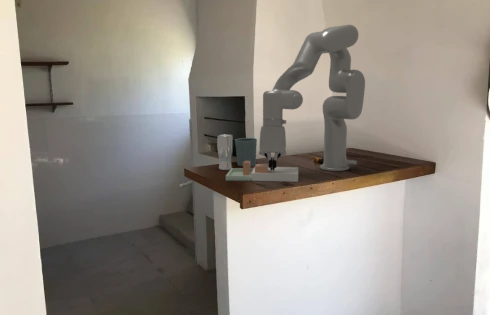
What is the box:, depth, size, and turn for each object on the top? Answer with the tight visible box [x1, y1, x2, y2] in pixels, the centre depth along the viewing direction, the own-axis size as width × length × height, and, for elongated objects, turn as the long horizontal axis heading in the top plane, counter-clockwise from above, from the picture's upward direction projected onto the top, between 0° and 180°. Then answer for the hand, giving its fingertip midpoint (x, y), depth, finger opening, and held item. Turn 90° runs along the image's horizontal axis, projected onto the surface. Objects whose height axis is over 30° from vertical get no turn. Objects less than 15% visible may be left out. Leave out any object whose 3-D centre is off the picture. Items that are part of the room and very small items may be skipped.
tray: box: [225, 167, 254, 182], centre depth 170 cm, size 10×15×2 cm, turn 173°
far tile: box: [242, 161, 252, 175], centre depth 173 cm, size 5×5×2 cm
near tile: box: [254, 163, 269, 173], centre depth 166 cm, size 5×5×2 cm
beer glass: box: [216, 134, 234, 171], centre depth 186 cm, size 7×7×15 cm
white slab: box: [251, 166, 299, 183], centre depth 168 cm, size 18×13×3 cm
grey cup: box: [234, 137, 258, 167], centre depth 195 cm, size 10×10×12 cm
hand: (272, 169), depth 165 cm, fingers closed
